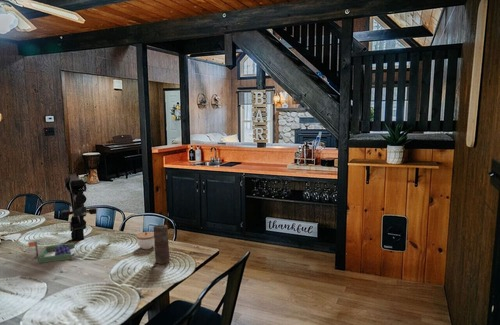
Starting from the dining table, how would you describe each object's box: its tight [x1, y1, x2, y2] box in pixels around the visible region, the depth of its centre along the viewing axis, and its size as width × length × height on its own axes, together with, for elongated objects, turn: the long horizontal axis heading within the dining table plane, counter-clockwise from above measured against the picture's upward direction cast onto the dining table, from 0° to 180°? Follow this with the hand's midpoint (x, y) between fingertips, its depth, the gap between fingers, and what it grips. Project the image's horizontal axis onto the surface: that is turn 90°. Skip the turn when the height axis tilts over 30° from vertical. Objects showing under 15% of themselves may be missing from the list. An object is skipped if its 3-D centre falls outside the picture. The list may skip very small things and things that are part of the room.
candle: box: [152, 224, 171, 265], centre depth 182 cm, size 8×7×20 cm
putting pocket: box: [27, 241, 75, 264], centre depth 192 cm, size 21×18×9 cm
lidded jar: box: [136, 231, 155, 250], centre depth 203 cm, size 11×11×9 cm
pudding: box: [50, 244, 76, 256], centre depth 194 cm, size 12×12×5 cm
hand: (80, 226), depth 205 cm, fingers closed
